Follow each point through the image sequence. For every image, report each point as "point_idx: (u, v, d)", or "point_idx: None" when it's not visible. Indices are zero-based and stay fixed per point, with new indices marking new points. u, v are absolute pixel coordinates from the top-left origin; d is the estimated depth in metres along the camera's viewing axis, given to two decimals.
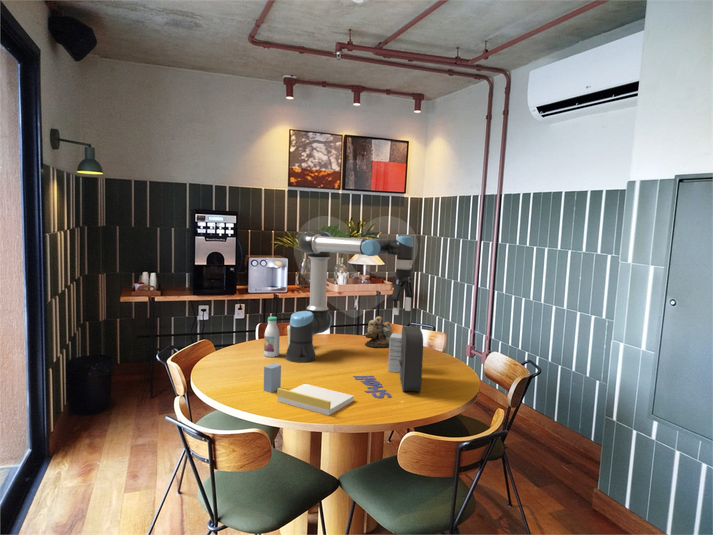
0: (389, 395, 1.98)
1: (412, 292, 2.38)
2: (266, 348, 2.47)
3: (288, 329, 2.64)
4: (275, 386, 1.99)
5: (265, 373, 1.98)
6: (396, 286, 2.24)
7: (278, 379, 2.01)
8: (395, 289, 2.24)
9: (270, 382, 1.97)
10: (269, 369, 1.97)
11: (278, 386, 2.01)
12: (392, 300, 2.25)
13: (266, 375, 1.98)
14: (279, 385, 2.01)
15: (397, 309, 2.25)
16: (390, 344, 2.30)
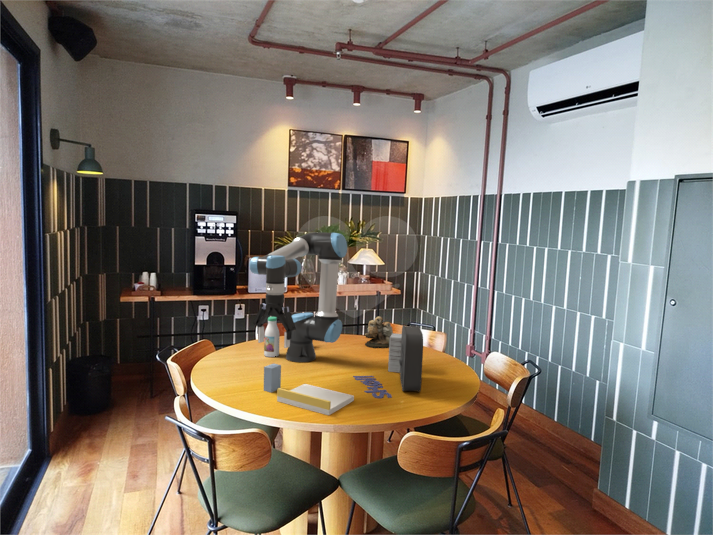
0: (389, 395, 1.98)
1: (289, 326, 1.93)
2: (266, 348, 2.47)
3: None
4: (275, 386, 1.99)
5: (265, 373, 1.98)
6: None
7: (278, 379, 2.01)
8: None
9: (270, 382, 1.97)
10: (269, 369, 1.97)
11: (278, 386, 2.01)
12: None
13: (266, 375, 1.98)
14: (279, 385, 2.01)
15: None
16: (390, 344, 2.30)
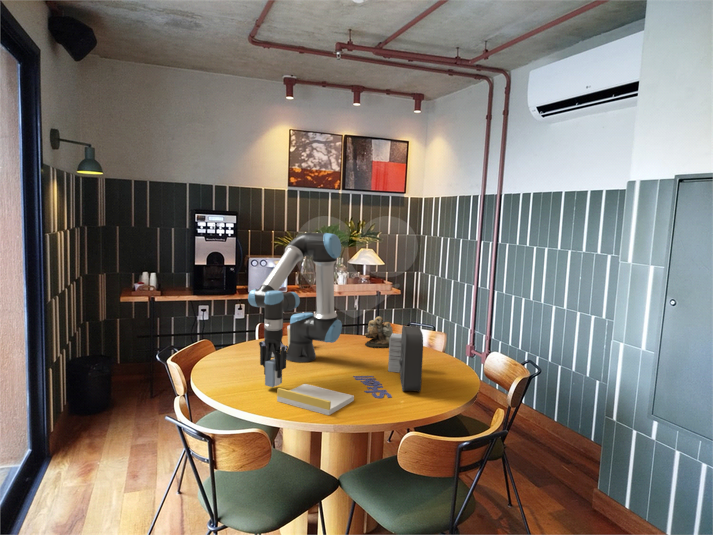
0: (389, 395, 1.98)
1: (281, 365, 1.96)
2: None
3: (288, 329, 2.64)
4: None
5: (266, 368, 1.98)
6: None
7: None
8: None
9: (271, 377, 1.97)
10: (270, 364, 1.97)
11: None
12: None
13: (267, 370, 1.98)
14: (280, 380, 2.02)
15: None
16: (390, 344, 2.30)
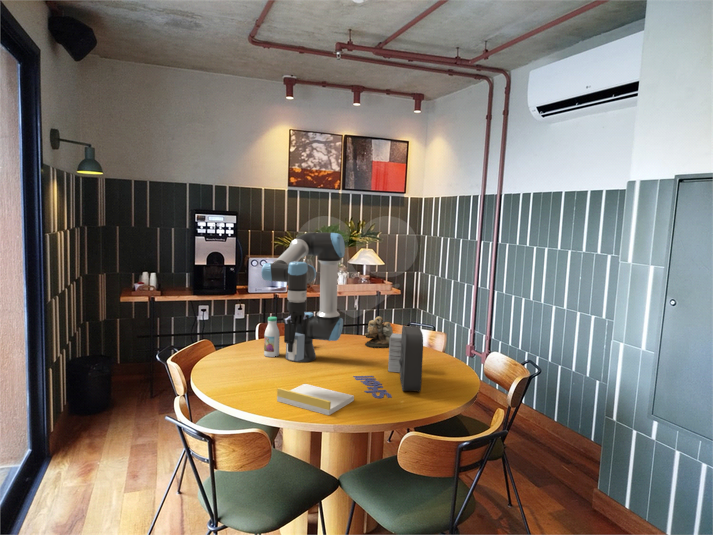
0: (389, 395, 1.98)
1: (306, 334, 1.97)
2: (266, 348, 2.47)
3: None
4: None
5: (299, 342, 1.91)
6: (286, 327, 1.88)
7: None
8: (285, 330, 1.88)
9: (303, 349, 1.94)
10: (302, 336, 1.93)
11: None
12: None
13: (300, 344, 1.92)
14: None
15: (292, 353, 1.91)
16: (390, 344, 2.30)
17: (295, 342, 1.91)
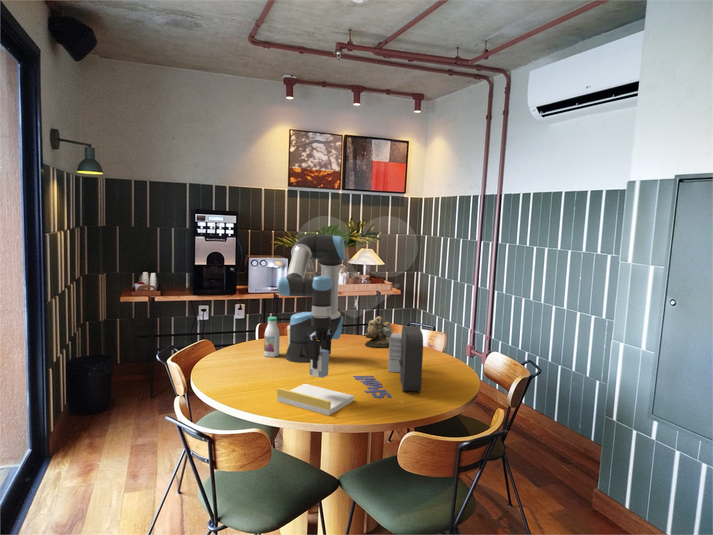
0: (389, 395, 1.98)
1: (329, 350, 1.93)
2: (266, 348, 2.47)
3: (288, 329, 2.64)
4: None
5: (324, 358, 1.88)
6: (311, 343, 1.84)
7: None
8: (310, 347, 1.84)
9: (327, 365, 1.90)
10: (327, 352, 1.89)
11: None
12: (311, 359, 1.88)
13: (324, 360, 1.88)
14: None
15: (317, 370, 1.87)
16: (390, 344, 2.30)
17: (320, 358, 1.87)
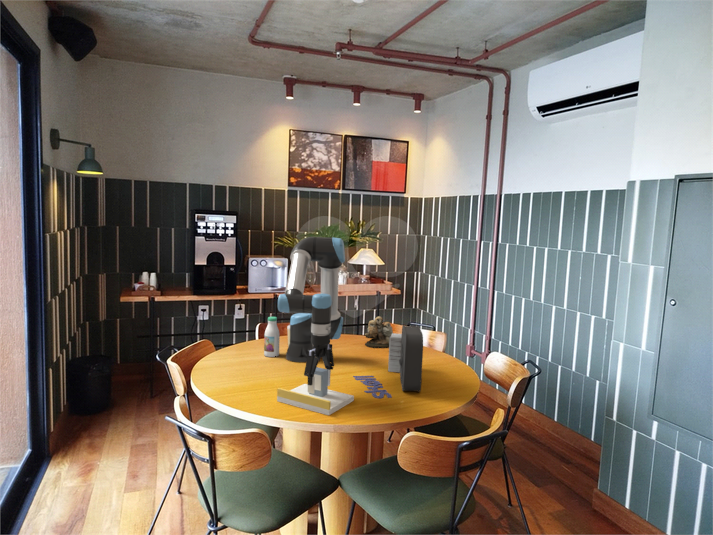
0: (389, 395, 1.98)
1: (332, 362, 1.96)
2: (266, 348, 2.47)
3: (288, 329, 2.64)
4: None
5: (323, 378, 1.89)
6: (309, 359, 1.84)
7: None
8: (308, 362, 1.84)
9: (326, 384, 1.91)
10: (326, 371, 1.90)
11: None
12: None
13: (324, 379, 1.89)
14: None
15: (312, 386, 1.85)
16: (390, 344, 2.30)
17: (319, 378, 1.88)
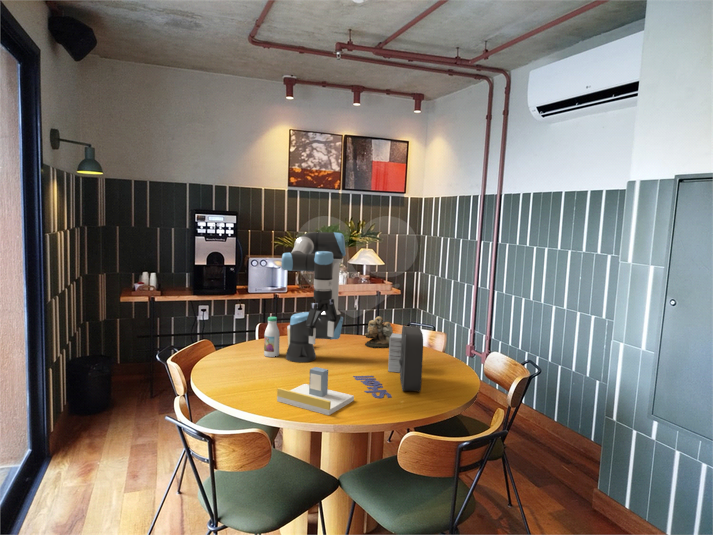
0: (389, 395, 1.98)
1: (336, 315, 2.06)
2: (266, 348, 2.47)
3: (288, 329, 2.64)
4: None
5: (323, 378, 1.89)
6: (311, 311, 1.92)
7: None
8: (310, 314, 1.92)
9: (326, 384, 1.91)
10: (326, 371, 1.90)
11: None
12: (307, 327, 1.93)
13: (324, 379, 1.89)
14: None
15: (313, 337, 1.93)
16: (390, 344, 2.30)
17: (319, 378, 1.88)
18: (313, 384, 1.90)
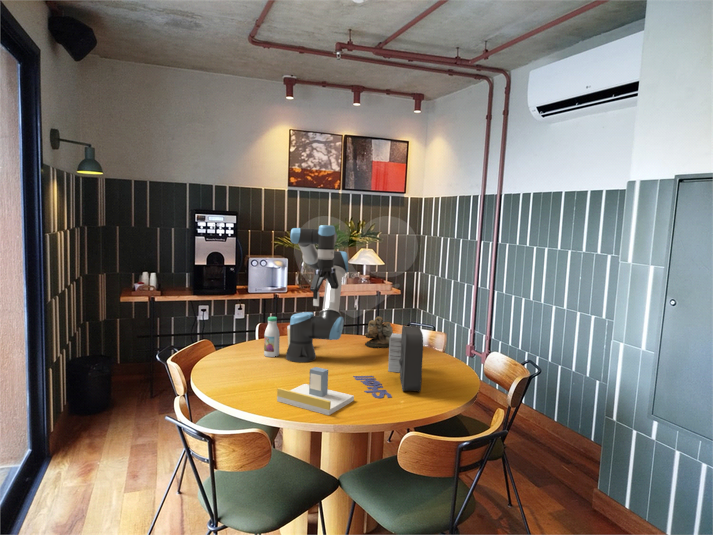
0: (389, 395, 1.98)
1: (337, 283, 2.32)
2: (266, 348, 2.47)
3: (288, 329, 2.64)
4: None
5: (323, 378, 1.89)
6: (316, 276, 2.18)
7: None
8: (314, 279, 2.18)
9: (326, 384, 1.91)
10: (326, 371, 1.90)
11: None
12: None
13: (324, 379, 1.89)
14: None
15: (317, 300, 2.19)
16: (390, 344, 2.30)
17: (319, 378, 1.88)
18: (313, 384, 1.90)
